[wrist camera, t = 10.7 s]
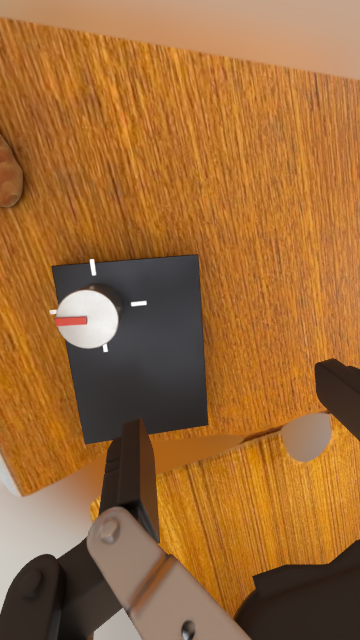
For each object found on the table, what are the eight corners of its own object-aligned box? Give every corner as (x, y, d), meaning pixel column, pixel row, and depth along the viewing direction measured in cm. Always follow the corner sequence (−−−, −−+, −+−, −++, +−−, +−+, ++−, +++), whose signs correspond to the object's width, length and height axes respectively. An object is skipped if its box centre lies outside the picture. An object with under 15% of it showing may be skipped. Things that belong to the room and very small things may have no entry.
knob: (122, 282, 24) (115, 288, 19) (125, 329, 25) (120, 348, 20) (71, 284, 23) (50, 291, 18) (76, 331, 24) (58, 352, 19)
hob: (50, 262, 25) (39, 263, 22) (193, 251, 27) (198, 250, 24) (82, 430, 29) (76, 446, 27) (203, 412, 31) (208, 426, 28)
